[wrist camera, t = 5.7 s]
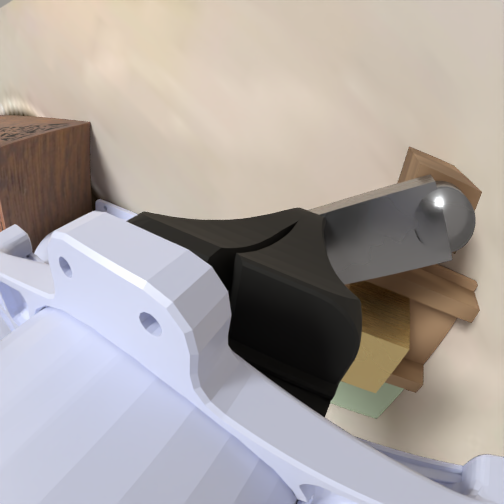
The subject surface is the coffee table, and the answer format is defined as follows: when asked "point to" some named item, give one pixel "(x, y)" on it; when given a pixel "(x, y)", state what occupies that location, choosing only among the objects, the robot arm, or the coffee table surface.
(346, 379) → the tan cube
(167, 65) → the coffee table surface
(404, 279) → the body
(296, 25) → the coffee table surface
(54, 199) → the tissue box cover
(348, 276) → the lever
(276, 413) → the robot arm
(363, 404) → the pad
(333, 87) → the coffee table surface
